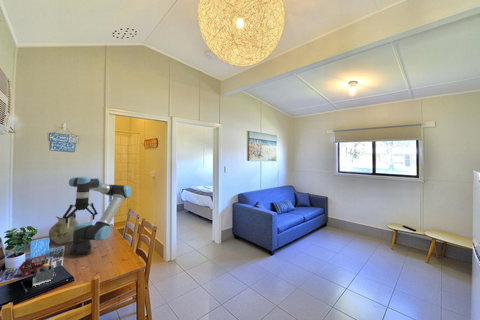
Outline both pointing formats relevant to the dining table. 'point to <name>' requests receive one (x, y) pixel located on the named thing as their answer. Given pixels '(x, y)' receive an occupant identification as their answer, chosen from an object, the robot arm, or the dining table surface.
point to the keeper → (45, 267)
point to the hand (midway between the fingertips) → (80, 225)
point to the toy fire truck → (35, 263)
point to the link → (44, 274)
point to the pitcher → (63, 230)
